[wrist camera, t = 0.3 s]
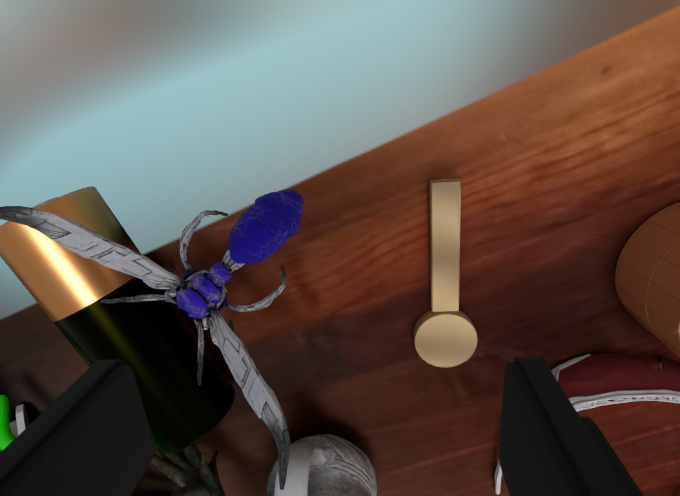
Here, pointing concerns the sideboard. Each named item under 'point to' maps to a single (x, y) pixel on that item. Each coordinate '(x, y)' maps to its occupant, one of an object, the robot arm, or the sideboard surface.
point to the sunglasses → (612, 383)
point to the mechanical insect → (199, 285)
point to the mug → (325, 469)
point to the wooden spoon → (445, 284)
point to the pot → (653, 276)
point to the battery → (120, 321)
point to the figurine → (190, 472)
